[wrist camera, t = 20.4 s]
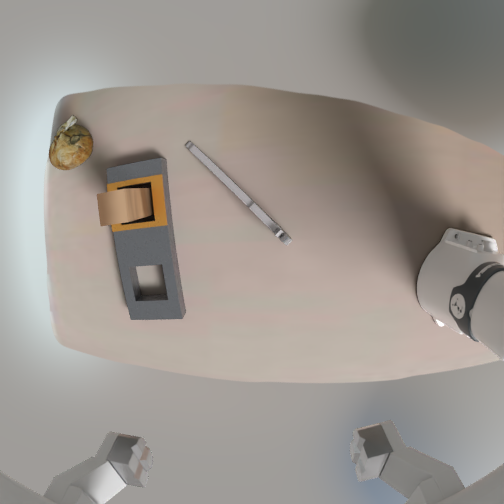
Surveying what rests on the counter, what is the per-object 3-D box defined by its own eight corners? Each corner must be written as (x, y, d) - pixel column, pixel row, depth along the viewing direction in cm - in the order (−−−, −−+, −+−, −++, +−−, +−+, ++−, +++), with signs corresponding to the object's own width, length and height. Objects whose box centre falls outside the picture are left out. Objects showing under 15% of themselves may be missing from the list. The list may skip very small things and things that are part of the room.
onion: (62, 135, 38) (34, 130, 30) (98, 120, 37) (71, 110, 30) (66, 175, 39) (37, 176, 31) (102, 162, 39) (74, 159, 31)
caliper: (290, 235, 42) (296, 244, 36) (284, 241, 42) (289, 250, 36) (190, 140, 39) (179, 133, 33) (185, 146, 39) (173, 139, 33)
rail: (166, 159, 39) (160, 157, 36) (186, 312, 44) (182, 319, 41) (114, 169, 39) (105, 168, 36) (136, 313, 44) (130, 320, 42)
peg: (152, 187, 40) (124, 188, 30) (155, 214, 41) (128, 222, 31) (129, 191, 40) (96, 194, 30) (132, 217, 41) (100, 226, 31)
